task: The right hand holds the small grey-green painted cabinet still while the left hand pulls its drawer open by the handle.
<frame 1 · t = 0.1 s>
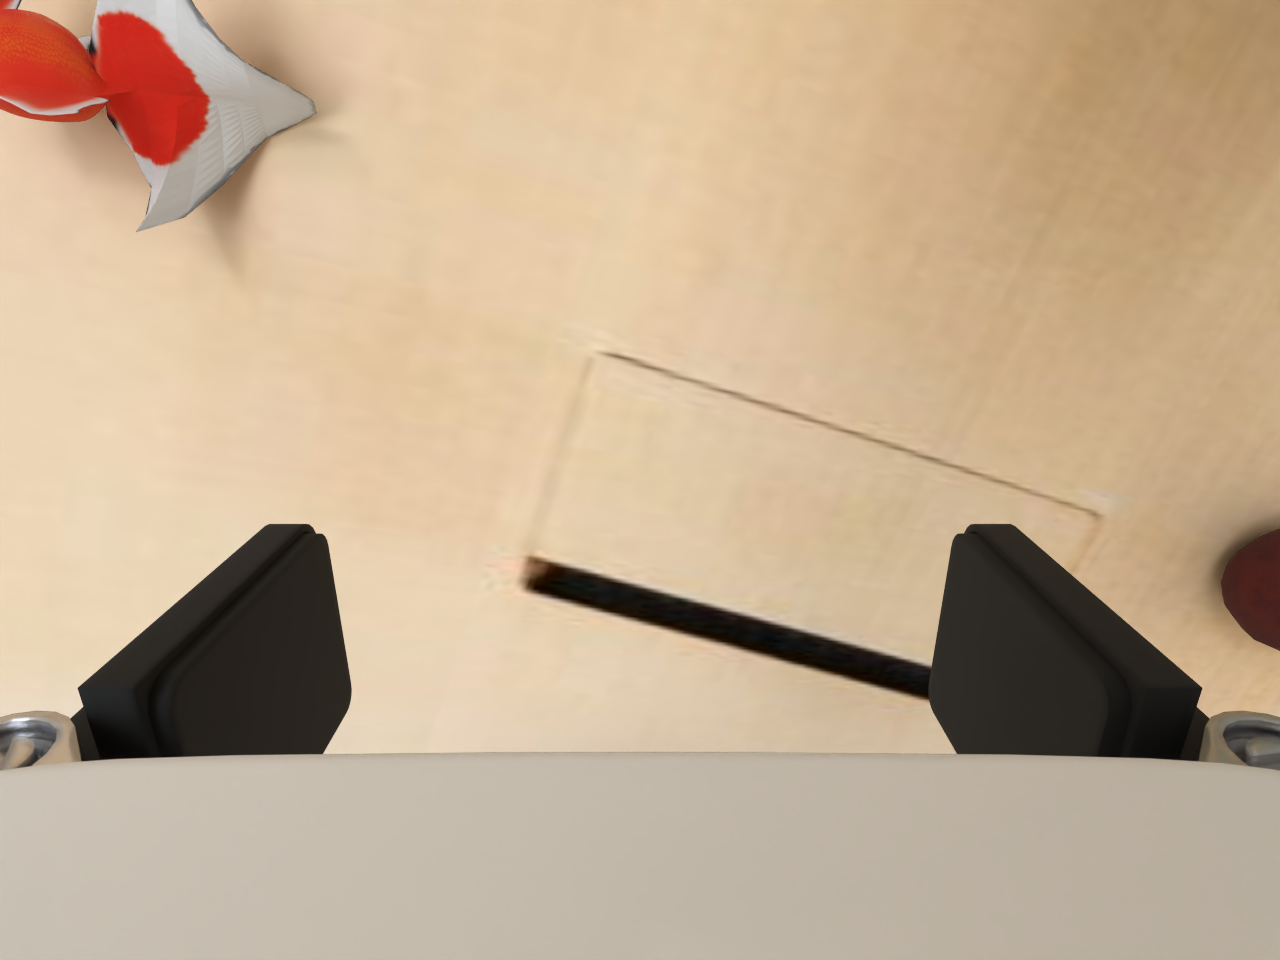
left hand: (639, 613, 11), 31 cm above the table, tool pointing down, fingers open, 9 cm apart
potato: (1255, 561, 46), on the table
fish: (172, 88, 36), on the table
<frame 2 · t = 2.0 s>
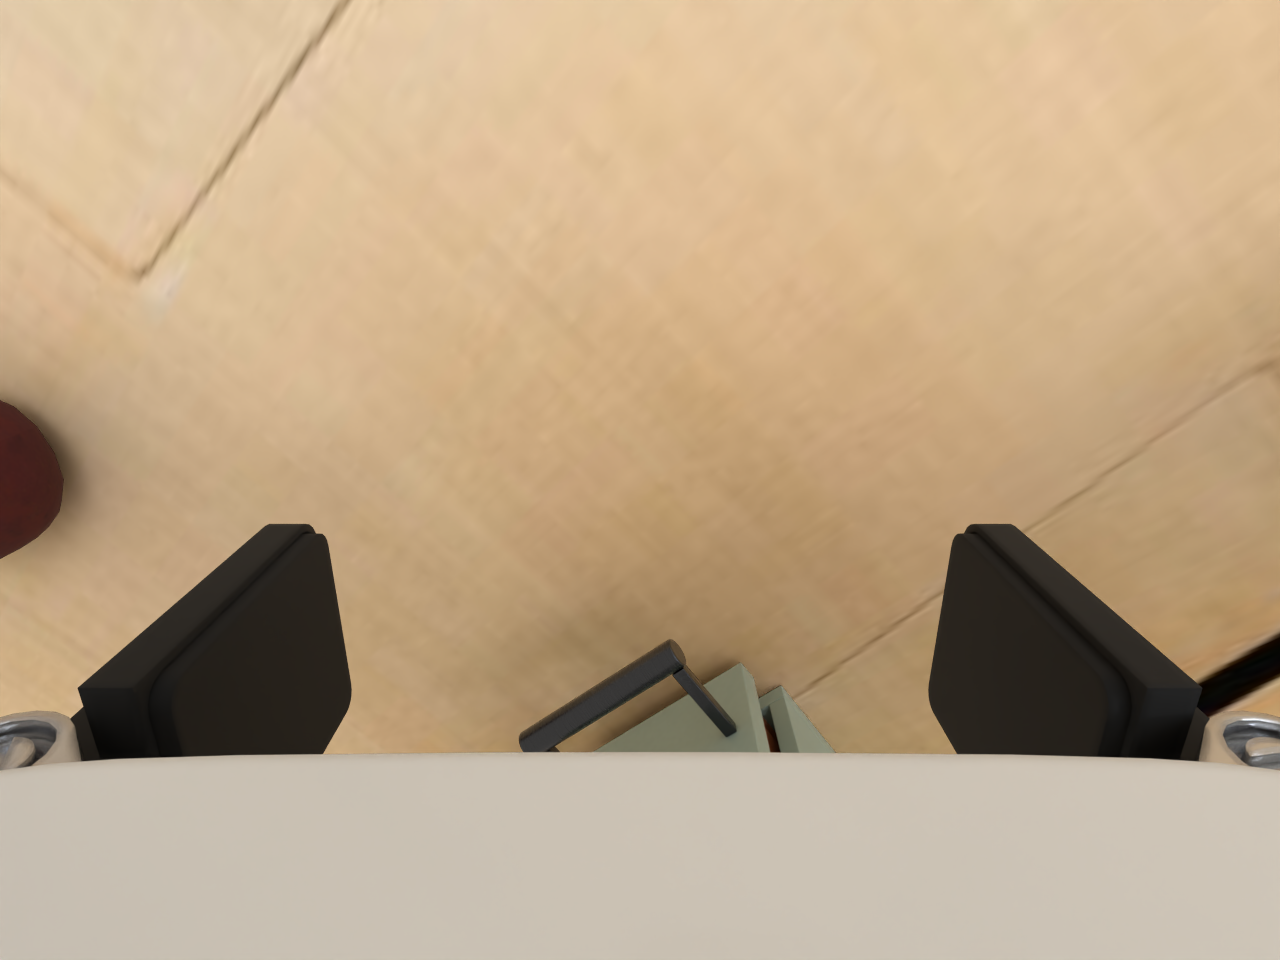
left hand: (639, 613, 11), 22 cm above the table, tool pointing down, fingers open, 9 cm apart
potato: (20, 453, 34), on the table
drawer: (738, 844, 36), point 5 cm above the table, slide at 1.8 cm
cabinet: (791, 843, 42), on the table
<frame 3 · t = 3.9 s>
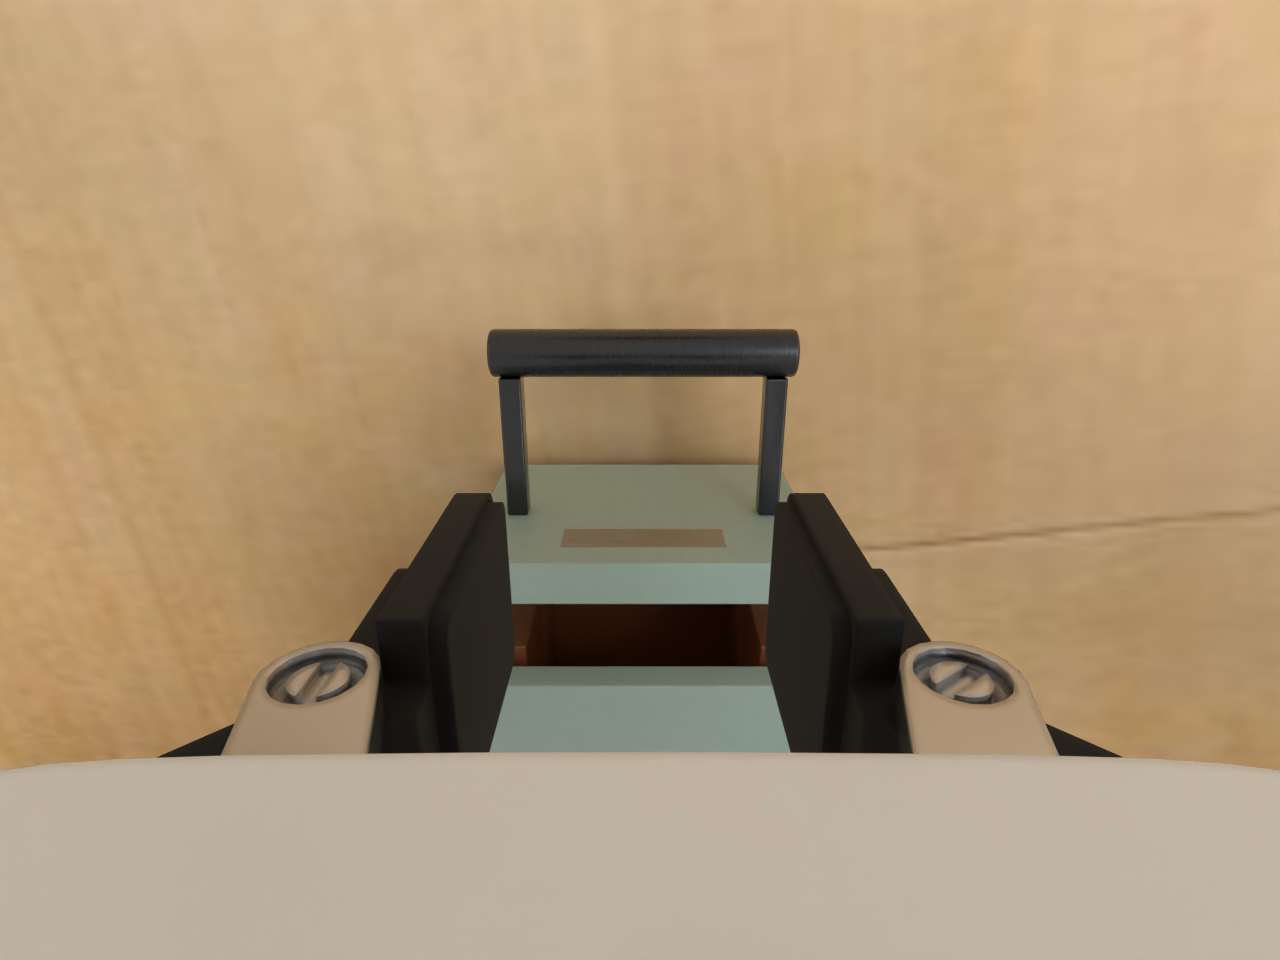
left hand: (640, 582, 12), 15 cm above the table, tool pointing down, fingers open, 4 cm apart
drawer: (642, 676, 24), point 5 cm above the table, slide at 1.8 cm
cabinet: (642, 734, 31), on the table, touching right hand
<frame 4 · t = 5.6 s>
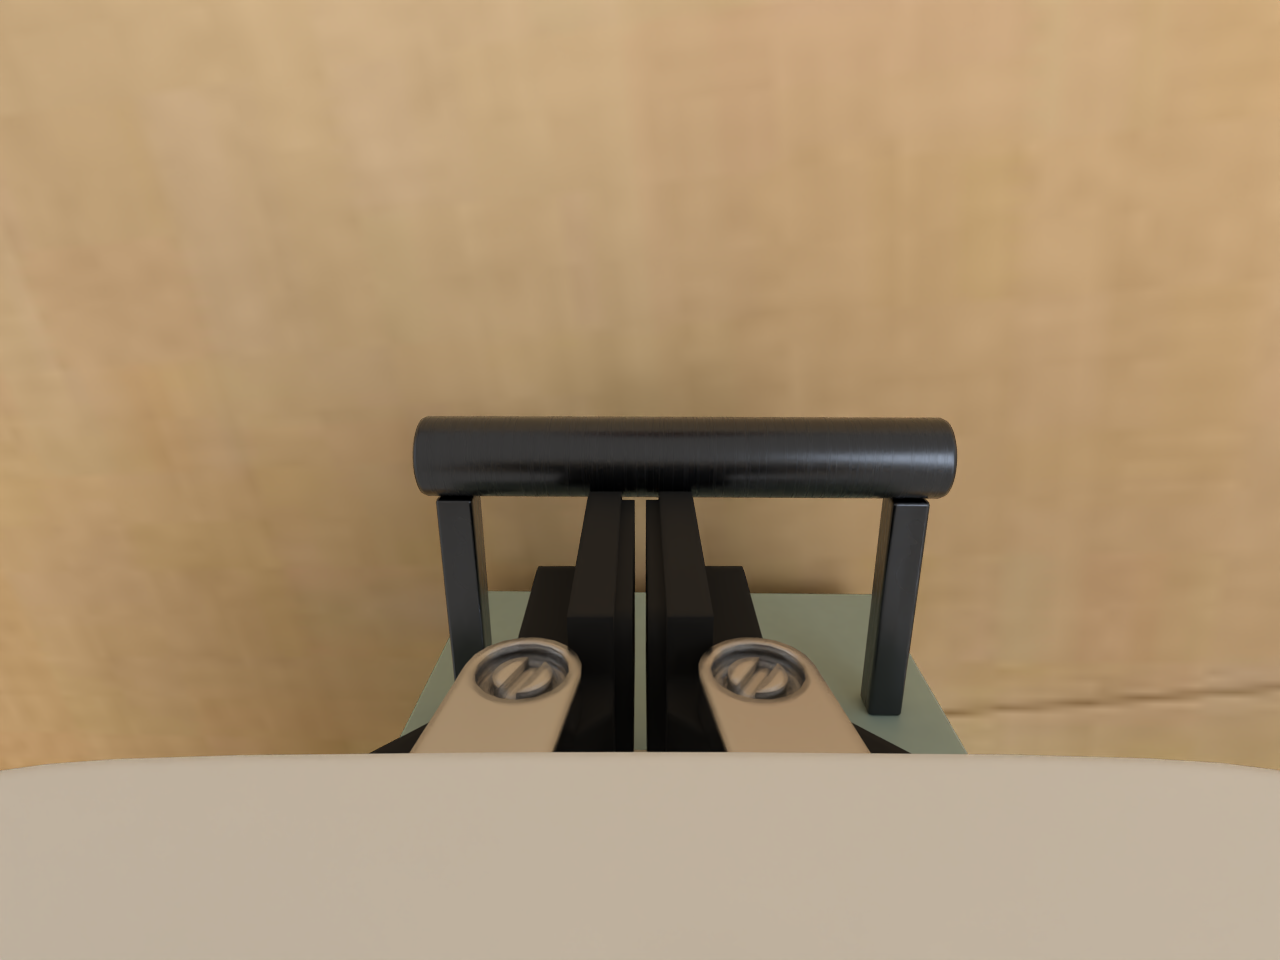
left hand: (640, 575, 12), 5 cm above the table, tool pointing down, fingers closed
drawer: (672, 928, 16), point 5 cm above the table, slide at 1.9 cm, touching left hand
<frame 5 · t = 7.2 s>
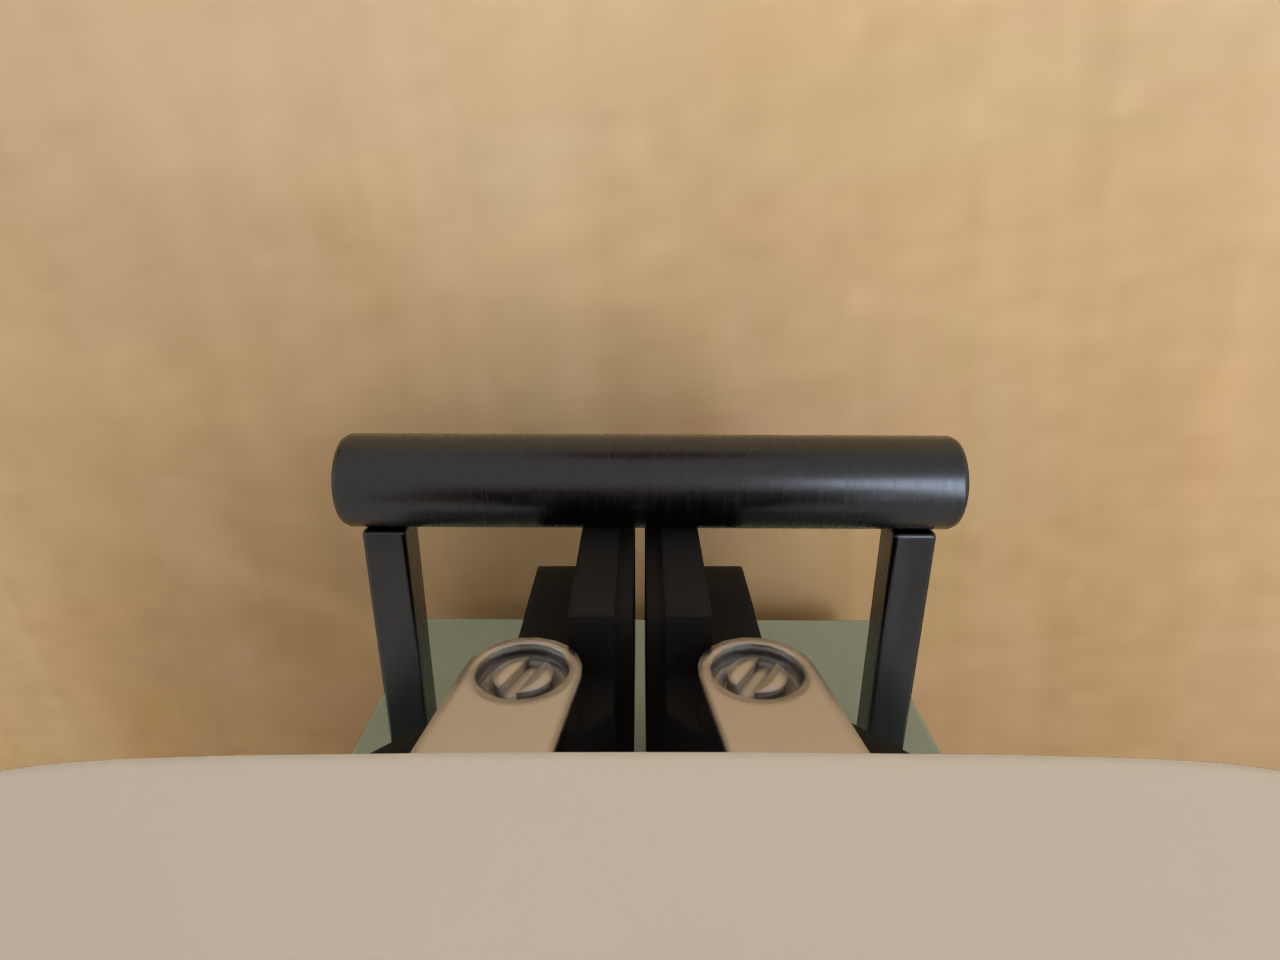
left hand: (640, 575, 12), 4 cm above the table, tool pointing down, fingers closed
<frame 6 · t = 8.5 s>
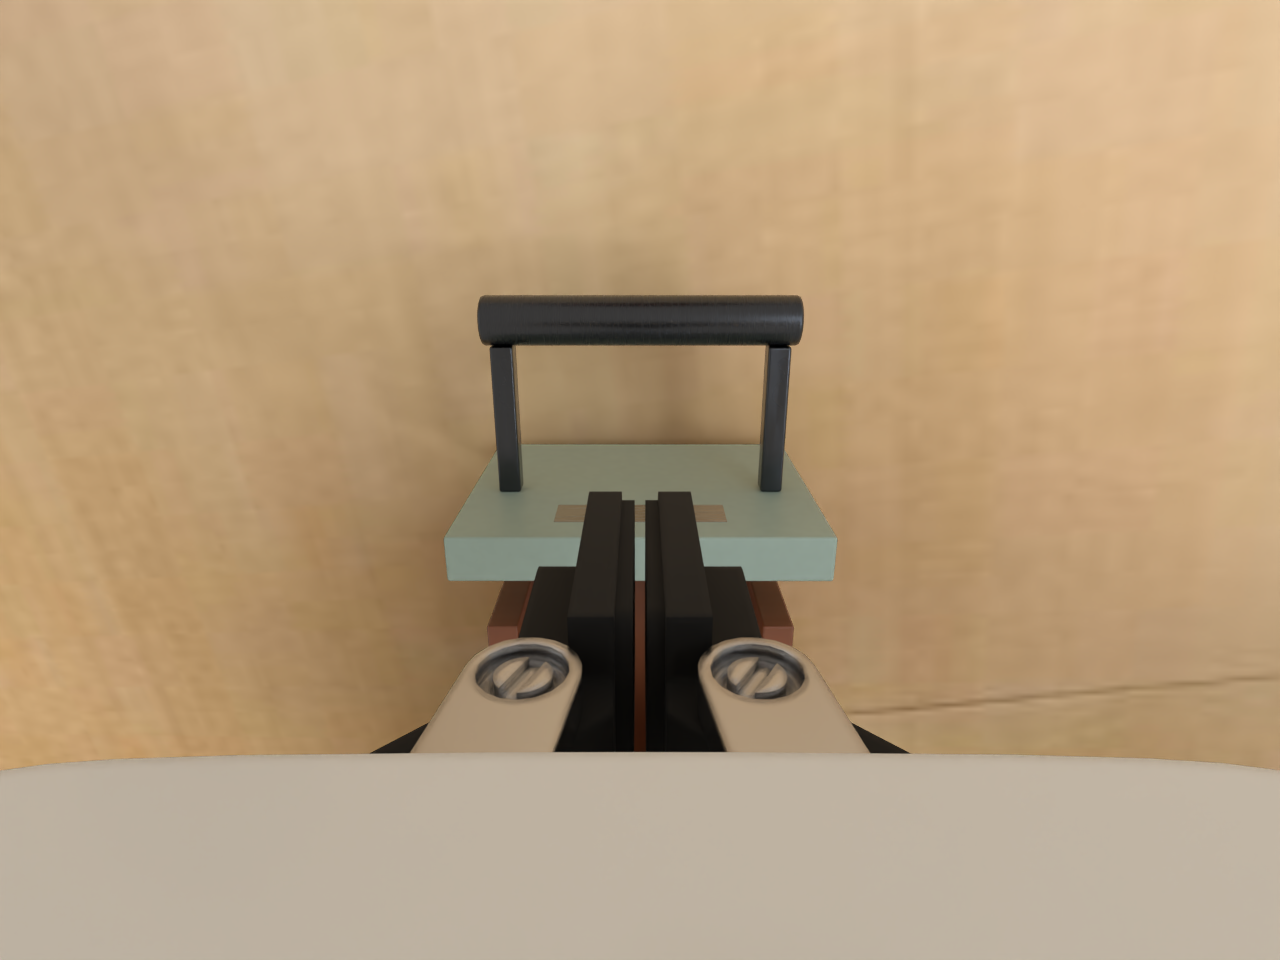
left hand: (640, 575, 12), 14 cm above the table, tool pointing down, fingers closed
drawer: (640, 662, 23), point 5 cm above the table, slide at 9.7 cm
when the right hand's fingers open (5 cm above the table, at t = 9.1 s): cabinet stays where it is, on the table.
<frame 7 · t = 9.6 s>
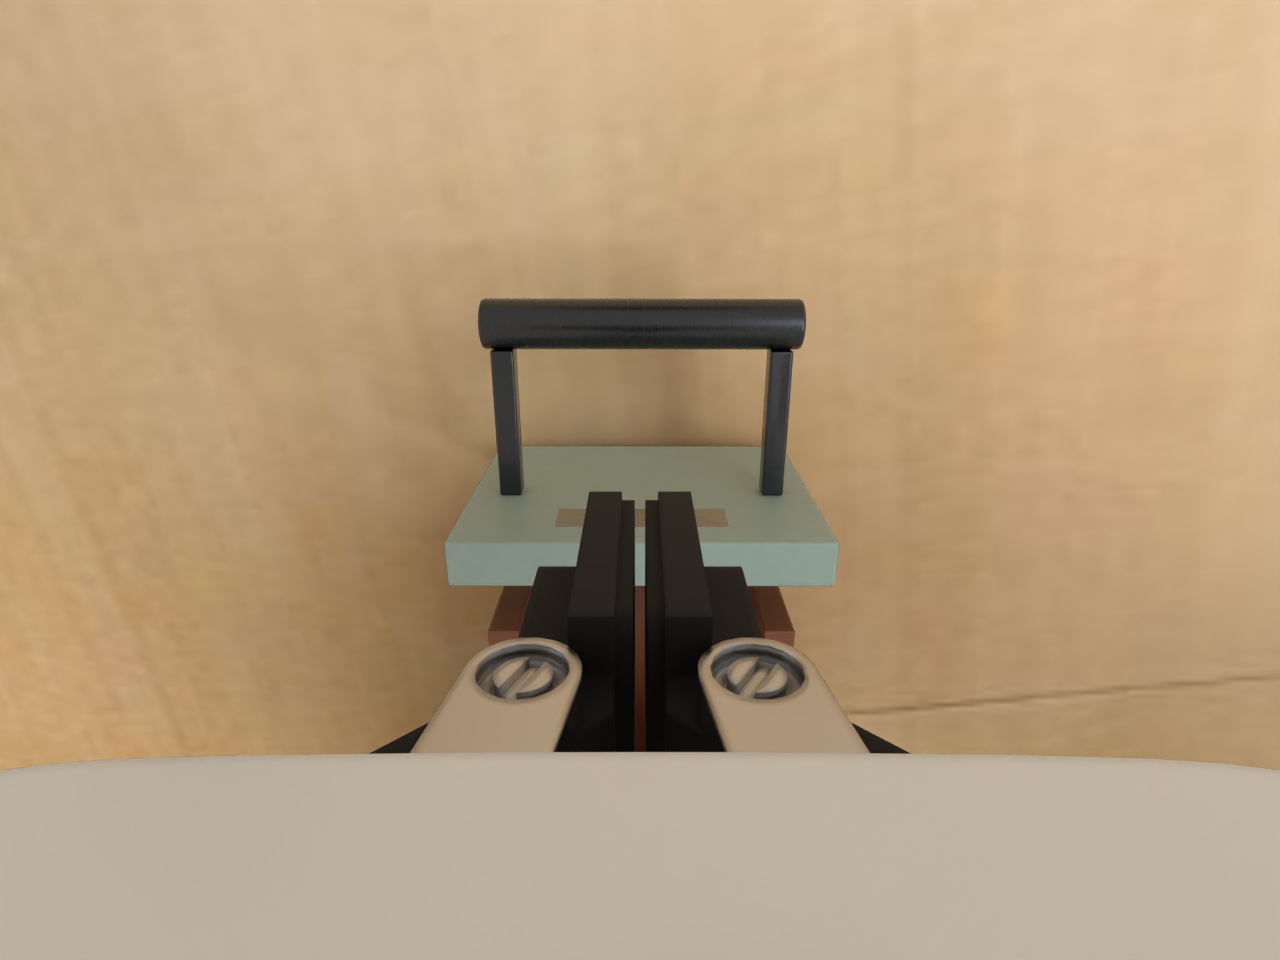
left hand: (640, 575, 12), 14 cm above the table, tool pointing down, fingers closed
drawer: (641, 665, 23), point 5 cm above the table, slide at 9.7 cm
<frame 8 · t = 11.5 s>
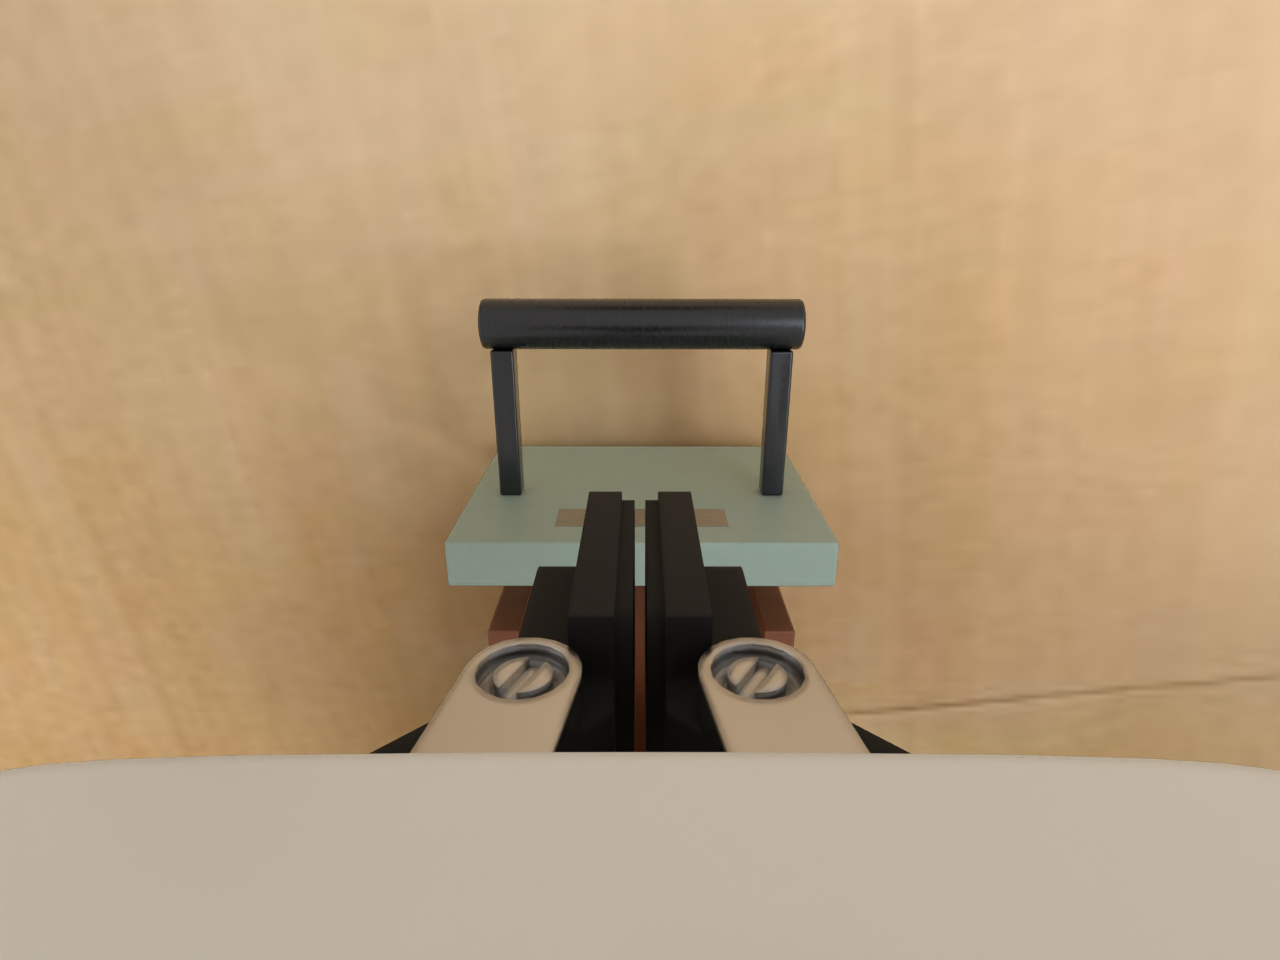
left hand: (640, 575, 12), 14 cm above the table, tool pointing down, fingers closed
drawer: (641, 665, 23), point 5 cm above the table, slide at 9.7 cm
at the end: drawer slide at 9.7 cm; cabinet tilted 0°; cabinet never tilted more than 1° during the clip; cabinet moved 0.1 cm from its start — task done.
